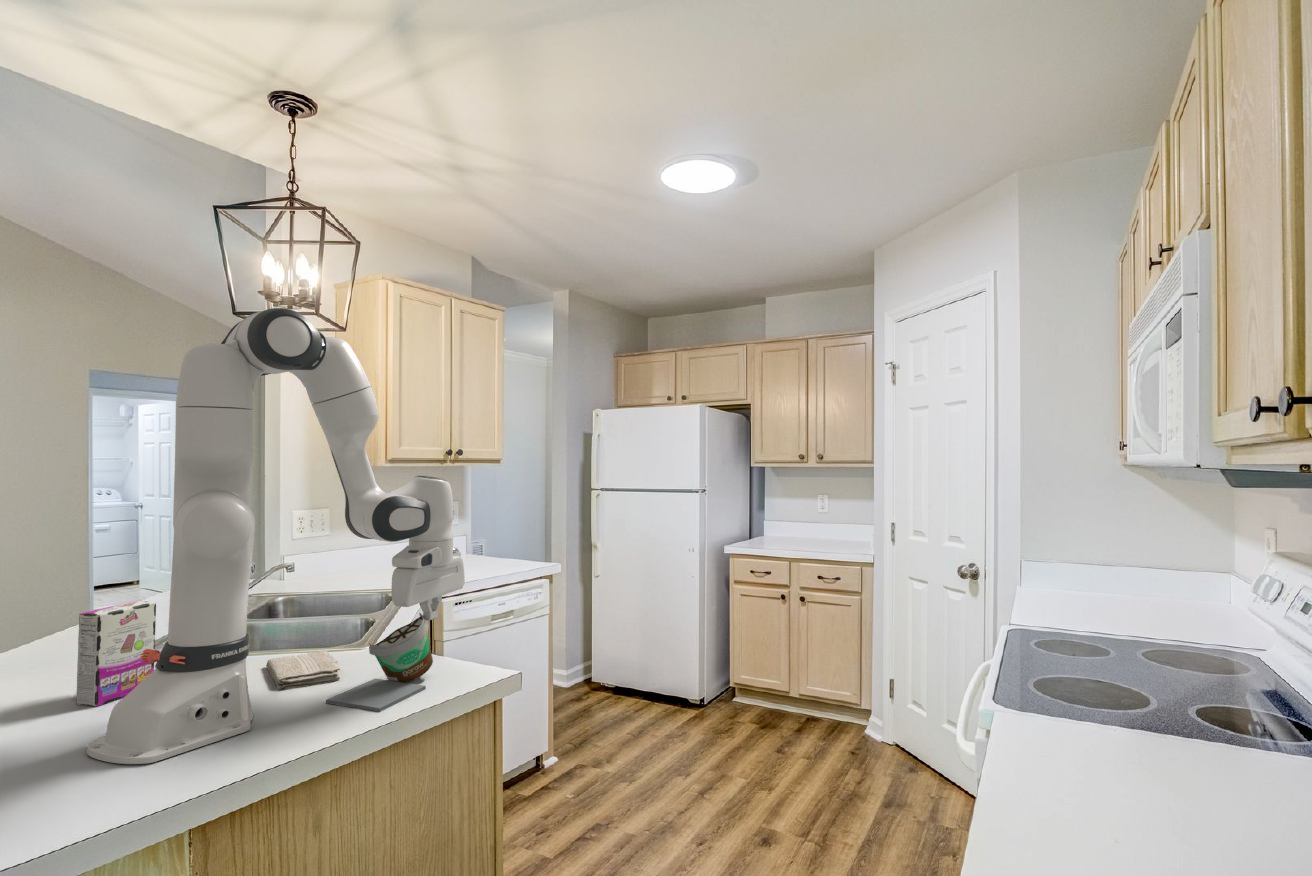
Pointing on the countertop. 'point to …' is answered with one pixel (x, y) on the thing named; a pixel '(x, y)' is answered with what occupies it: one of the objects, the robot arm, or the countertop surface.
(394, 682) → the mat
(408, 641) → the food container
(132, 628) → the candy bar box
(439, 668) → the countertop surface
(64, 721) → the countertop surface
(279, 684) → the washcloth
